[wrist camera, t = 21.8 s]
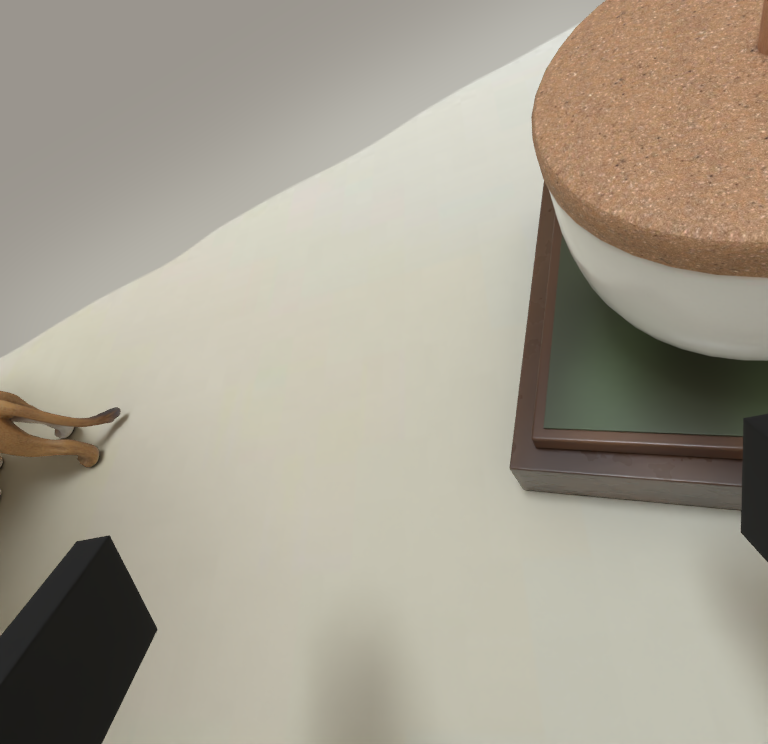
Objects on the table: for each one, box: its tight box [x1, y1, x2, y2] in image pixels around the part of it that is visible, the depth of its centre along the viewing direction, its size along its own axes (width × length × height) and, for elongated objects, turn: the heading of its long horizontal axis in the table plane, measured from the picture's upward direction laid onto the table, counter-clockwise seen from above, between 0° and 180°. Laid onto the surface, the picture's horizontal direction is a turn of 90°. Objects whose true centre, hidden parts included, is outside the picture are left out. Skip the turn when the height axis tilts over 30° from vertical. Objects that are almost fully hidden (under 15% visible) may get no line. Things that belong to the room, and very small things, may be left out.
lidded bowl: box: [532, 0, 768, 361], centre depth 14 cm, size 11×11×9 cm
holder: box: [510, 181, 768, 510], centre depth 19 cm, size 14×14×3 cm
